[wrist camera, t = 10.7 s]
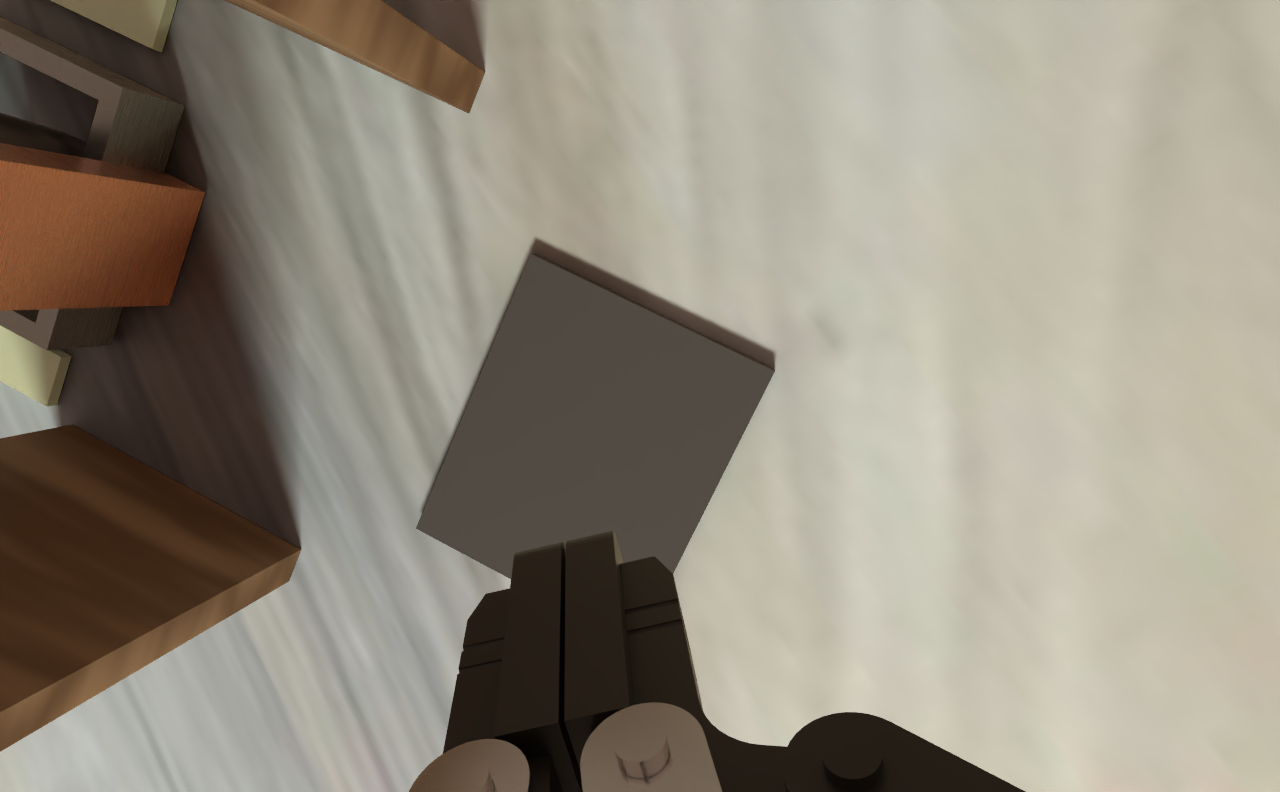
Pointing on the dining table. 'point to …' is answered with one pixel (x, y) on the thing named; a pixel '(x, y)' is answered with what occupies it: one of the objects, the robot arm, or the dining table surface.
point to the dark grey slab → (590, 427)
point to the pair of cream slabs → (143, 13)
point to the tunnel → (154, 481)
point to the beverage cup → (38, 137)
